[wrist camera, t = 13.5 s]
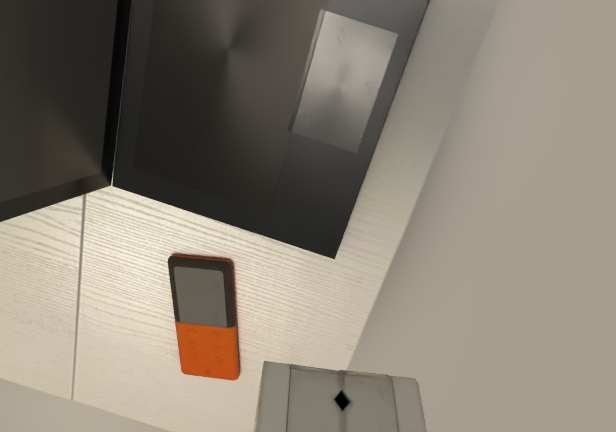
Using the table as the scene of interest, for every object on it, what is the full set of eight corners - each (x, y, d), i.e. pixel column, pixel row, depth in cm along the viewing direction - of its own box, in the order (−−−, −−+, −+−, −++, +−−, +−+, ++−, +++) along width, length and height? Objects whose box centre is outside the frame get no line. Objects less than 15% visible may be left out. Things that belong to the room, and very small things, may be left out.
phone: (179, 376, 59) (164, 258, 52) (184, 367, 60) (169, 251, 53) (237, 383, 58) (230, 265, 51) (241, 375, 59) (233, 258, 52)
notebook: (470, -119, 36) (474, -123, 34) (337, 248, 50) (334, 259, 48) (170, -216, 36) (157, -224, 34) (122, 177, 50) (111, 186, 48)
